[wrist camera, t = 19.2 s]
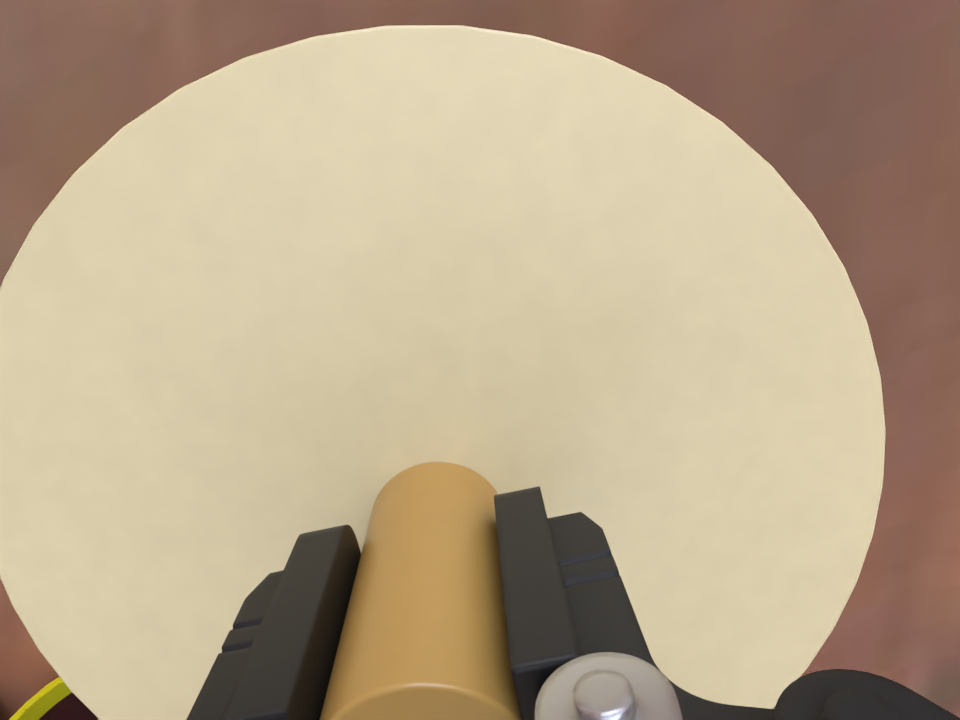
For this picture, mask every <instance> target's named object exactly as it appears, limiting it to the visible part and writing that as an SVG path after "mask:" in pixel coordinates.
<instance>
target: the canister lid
mask: <svg viewBox="0 0 960 720" xmlns="http://www.w3.org/2000/svg"><path fill="white" fill-rule="evenodd" d="M885 435H886V430H885V419H884V408H883V397H882V386H881V377H880V373H879V369H878V364H877V360H876V356H875V352H874V348H873V344H872V340H871V336H870V332H869V328H868V324H867V321H866V318H865V316H864V314H863V311H862V309H861V306H860V304H859V301H858V299H857V297H856V294H855V292H854V289H853V287H852V284H851V282H850V280H849V277H848V275H847V272H846V270H845V268H844V266H843V264H842V263H841V261H840V259H839V258H838V256H837V254H836V253H835V251H834V249H833V248H832V246H831V244H830V243H829V241H828V239H827V238H826V236H825V234H824V233H823V231H822V229H821V228H820V226H819V225H818V223H817V221H816V220H815V218H814V216H813V215H812V214H811V212H810V211H809V210H808V209H807V208H806V206H805V205H804V204H803V203H802V202H801V200H800V199H799V198H798V197H797V195H796V194H795V193H794V192H793V191H792V189H791V188H790V187H789V186H788V185H787V183H786V182H785V181H784V180H783V179H782V177H781V176H780V175H779V174H778V173H777V171H776V170H775V169H774V168H773V167H772V166H771V165H770V164H769V163H768V162H767V161H766V160H765V159H763V158H762V157H761V156H760V155H759V154H758V153H757V152H756V151H754V150H753V149H752V148H751V147H750V146H749V145H748V144H747V143H745V142H744V141H743V140H742V139H741V138H740V137H739V136H737V135H736V134H735V133H734V132H733V131H732V130H731V129H730V128H728V127H727V126H726V125H725V124H724V123H723V122H721V121H720V120H718V119H717V118H715V117H714V116H712V115H711V114H709V113H708V112H706V111H704V110H703V109H701V108H700V107H698V106H697V105H695V104H694V103H692V102H691V101H689V100H688V99H686V98H685V97H683V96H681V95H680V94H678V93H677V92H675V91H674V90H672V89H671V88H669V87H668V86H666V85H664V84H662V83H660V82H658V81H655V80H653V79H651V78H649V77H647V76H645V75H642V74H640V73H638V72H636V71H634V70H631V69H629V68H627V67H625V66H623V65H621V64H618V63H616V62H614V61H612V60H610V59H608V58H605V57H603V56H601V55H597V54H594V53H590V52H587V51H584V50H580V49H577V48H573V47H570V46H567V45H563V44H560V43H556V42H553V41H550V40H546V39H543V38H539V37H536V36H532V35H525V34H518V33H511V32H504V31H497V30H490V29H483V28H476V27H469V26H462V25H396V26H380V27H373V28H367V29H360V30H353V31H347V32H340V33H333V34H327V35H320V36H314V37H310V38H307V39H304V40H301V41H297V42H294V43H291V44H287V45H284V46H281V47H278V48H274V49H271V50H268V51H265V52H261V53H258V54H255V55H251V56H248V57H245V58H243V59H241V60H238V61H236V62H234V63H232V64H230V65H228V66H226V67H224V68H222V69H220V70H217V71H215V72H213V73H211V74H209V75H207V76H205V77H203V78H201V79H199V80H197V81H194V82H192V83H190V84H188V85H186V86H184V87H182V88H180V89H178V90H177V91H175V92H174V93H173V94H171V95H170V96H168V97H167V98H165V99H164V100H162V101H161V102H159V103H158V104H156V105H155V106H153V107H152V108H150V109H149V110H148V111H146V112H145V113H143V114H142V115H140V116H139V117H137V118H136V119H134V120H133V121H131V122H130V123H128V124H127V125H125V126H124V127H123V128H122V129H121V130H119V131H118V132H117V133H116V134H115V135H114V136H113V137H112V138H111V139H110V140H109V141H108V142H107V143H106V144H104V145H103V146H102V147H101V148H100V149H99V150H98V151H97V152H96V153H95V154H94V155H93V156H92V157H91V158H90V159H88V160H87V161H86V162H85V163H84V164H83V165H82V166H81V167H80V168H79V169H78V170H77V171H76V172H75V173H74V174H73V175H72V176H71V178H70V179H69V180H68V181H67V183H66V184H65V185H64V186H63V188H62V189H61V190H60V192H59V193H58V194H57V195H56V197H55V198H54V199H53V201H52V202H51V203H50V204H49V206H48V207H47V208H46V210H45V211H44V212H43V213H42V215H41V216H40V217H39V219H38V220H37V221H36V222H35V224H34V225H33V227H32V229H31V231H30V232H29V234H28V236H27V238H26V240H25V242H24V243H23V245H22V247H21V249H20V251H19V252H18V254H17V256H16V258H15V260H14V262H13V263H12V265H11V267H10V269H9V271H8V272H7V274H6V276H5V278H4V280H3V283H2V285H1V288H0V578H1V580H2V583H3V585H4V587H5V590H6V592H7V594H8V597H9V599H10V601H11V604H12V606H13V607H14V609H15V611H16V612H17V614H18V616H19V618H20V619H21V621H22V623H23V624H24V626H25V628H26V629H27V631H28V633H29V634H30V636H31V638H32V639H33V641H34V643H35V644H36V646H37V648H38V649H39V651H40V652H41V653H42V655H43V656H44V657H45V658H46V660H47V661H48V662H49V664H50V665H51V666H52V667H53V669H54V670H55V671H56V673H57V674H58V675H59V676H60V678H61V679H62V680H63V681H64V683H65V684H66V685H67V687H68V688H69V689H70V690H71V691H72V692H73V693H74V694H75V695H76V696H77V697H78V698H79V699H80V700H81V701H82V702H83V703H84V704H85V705H86V706H87V707H88V708H89V709H90V710H91V711H92V712H93V713H94V714H95V715H96V716H97V717H98V718H99V719H100V720H186V719H187V717H188V715H189V713H190V711H191V709H192V707H193V705H194V703H195V701H196V699H197V697H198V695H199V693H200V691H201V689H202V687H203V684H204V682H205V680H206V678H207V676H208V674H209V672H210V670H211V668H212V666H213V664H214V662H215V660H216V658H217V656H218V654H219V653H222V648H221V647H222V645H223V643H224V641H225V639H226V637H227V635H228V633H229V631H230V630H233V623H234V621H235V619H236V617H237V615H238V613H239V610H240V608H241V606H242V604H243V602H244V600H245V598H246V597H247V596H248V595H249V594H250V593H251V592H252V591H253V590H254V589H255V588H256V587H257V586H258V585H259V584H260V583H261V582H262V581H263V580H264V579H265V578H266V576H267V575H268V574H269V573H273V572H278V571H283V570H284V568H285V566H286V563H287V561H288V559H289V556H290V554H291V552H292V549H293V547H294V545H295V542H296V540H297V538H298V536H299V535H300V534H302V533H307V532H312V531H317V530H322V529H327V528H332V527H337V526H342V525H350V526H351V528H352V529H353V531H354V533H355V535H356V538H357V541H358V545H359V548H360V551H361V557H360V560H359V564H358V568H357V572H356V576H355V580H354V584H353V588H352V592H351V596H350V600H349V604H348V608H347V612H346V616H345V620H344V624H343V628H342V632H341V636H340V640H339V644H338V648H337V652H336V656H335V660H334V664H333V668H332V672H331V676H330V680H329V684H328V688H327V692H326V696H325V700H324V704H323V708H322V712H321V716H320V720H522V716H521V711H520V707H519V703H518V699H517V695H516V691H515V686H514V682H513V678H512V674H511V670H510V660H509V649H508V639H507V629H506V618H505V608H504V598H503V588H502V577H501V567H500V557H499V546H498V536H497V526H496V515H495V505H494V495H498V494H503V493H508V492H513V491H518V490H523V489H528V488H533V487H538V486H540V489H541V493H542V497H543V502H544V506H545V510H546V514H547V518H552V517H557V516H562V515H567V514H572V513H577V512H582V513H583V514H585V515H586V516H587V517H589V518H590V519H591V520H592V521H594V522H595V523H596V524H597V525H599V526H600V527H601V528H602V529H603V531H604V534H605V537H606V539H607V542H608V544H609V547H610V550H611V553H612V556H613V558H614V560H615V563H616V565H617V568H618V571H619V575H620V576H621V579H622V581H623V584H624V586H625V589H626V592H627V594H628V597H629V600H630V602H631V605H632V607H633V610H634V613H635V615H636V618H637V620H638V623H639V626H640V628H641V631H642V634H643V636H644V639H645V641H646V644H647V647H648V649H649V652H650V655H651V657H652V659H653V661H654V663H655V664H656V666H657V667H658V668H659V670H660V671H661V672H662V673H663V674H664V675H665V676H666V677H667V678H668V679H669V680H670V681H671V682H673V683H674V684H675V685H677V686H678V687H680V688H681V689H683V690H685V691H687V692H689V693H690V694H693V695H695V696H697V697H700V698H702V699H705V700H709V701H713V702H716V703H721V704H728V705H736V706H746V707H756V708H767V709H772V708H773V707H774V706H775V705H776V704H777V701H778V698H779V697H780V695H781V694H782V692H783V690H784V689H786V688H787V687H788V686H789V685H790V684H791V683H792V682H794V681H795V680H797V679H798V678H799V677H800V676H801V675H802V674H803V673H804V671H805V670H806V669H807V668H808V666H809V665H810V663H811V662H812V660H813V659H814V657H815V656H816V654H817V653H818V651H819V650H820V648H821V647H822V645H823V644H824V642H825V641H826V639H827V638H828V636H829V635H830V633H831V632H832V630H833V629H834V627H835V625H836V623H837V621H838V619H839V617H840V615H841V613H842V611H843V609H844V607H845V605H846V603H847V601H848V599H849V597H850V595H851V593H852V591H853V589H854V587H855V585H856V583H857V580H858V577H859V574H860V571H861V568H862V565H863V562H864V559H865V557H866V554H867V551H868V548H869V545H870V542H871V539H872V536H873V532H874V527H875V522H876V517H877V512H878V507H879V501H880V496H881V491H882V486H883V472H884V454H885Z"/></svg>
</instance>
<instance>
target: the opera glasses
mask: <svg viewBox="0 0 960 720" xmlns="http://www.w3.org/2000/svg"><path fill="white" fill-rule="evenodd" d="M39 718H40V719H39ZM38 719H39V720H100V719H99V718H98V717H97V716H96V715H95V714H94V713H93V712H92V711H91V710H90V709H89V708H88V707H87V706H86V705H85V704H84V703H83V702H82V701H81V700H80V699H79V698H78V697H77V696H76V695H75V694H74V693H73V692H72V691H71V690H70V689H69V688H68V687H67V685H66V684H65V683H64V681H63V680H62V679H61V678H60V677H58V678H56V679H55V680H53V681H52V682H50V683H49V684H47V685H46V686H45V687H44V688H43V689H41V690H40V691H39V692H38V693H37V694H35V695H34V696H33V697H32V698H31V699H29V700H28V701H27V702H26V703H25V704H24V705H23V706H22V707H21V708H20V709H19V710H18V711H17V712H16V713H15V714H14V715H13V716H12V717H11V718H10V719H9V720H38Z"/></svg>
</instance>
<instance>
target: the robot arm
mask: <svg viewBox="0 0 960 720" xmlns="http://www.w3.org/2000/svg"><path fill="white" fill-rule="evenodd" d="M494 505H495V515H496V526H497V536H498V546H499V557H500V567H501V577H502V588H503V598H504V608H505V618H506V629H507V639H508V649H509V660H510V670H511V674H512V678H513V682H514V686H515V691H516V695H517V699H518V703H519V707H520V711H521V716H522V720H960V718H959V717H957V716H955V715H953V714H952V713H950V712H948V711H947V710H945V709H943V708H941V707H940V706H938V705H936V704H935V703H933V702H931V701H929V700H928V699H926V698H924V697H923V696H921V695H919V694H917V693H916V692H914V691H912V690H911V689H909V688H907V687H905V686H903V685H901V684H899V683H897V682H894V681H892V680H889V679H887V678H884V677H882V676H878V675H874V674H871V673H867V672H862V671H855V670H844V669H833V670H822V671H818V672H813V673H810V674H807V675H805V676H802V677H800V678H798V679H797V680H795V681H794V682H792V683H791V684H790V685H789V686H788V687H787V688H786V689H784V690H783V692H782V694H781V695H780V697H779V698H778V701H777V704H776V707H775V709H767V708H756V707H746V706H736V705H728V704H721V703H716V702H713V701H709V700H705V699H702V698H700V697H697V696H695V695H693V694H690V693H689V692H687V691H685V690H683V689H681V688H680V687H678V686H677V685H675V684H674V683H673V682H671V681H670V680H669V679H668V678H667V677H666V676H665V675H664V674H663V673H662V672H661V671H660V670H659V668H658V667H657V666H656V664H655V663H654V661H653V659H652V657H651V655H650V652H649V649H648V647H647V644H646V641H645V639H644V636H643V634H642V631H641V628H640V626H639V623H638V620H637V618H636V615H635V613H634V610H633V607H632V605H631V602H630V600H629V597H628V594H627V592H626V589H625V586H624V584H623V581H622V579H621V576H620V575H619V571H618V568H617V565H616V563H615V560H614V558H613V556H612V553H611V550H610V547H609V544H608V542H607V539H606V537H605V534H604V531H603V529H602V528H601V527H600V526H599V525H597V524H596V523H595V522H594V521H592V520H591V519H590V518H589V517H587V516H586V515H585V514H583V513H582V512H577V513H572V514H567V515H562V516H557V517H552V518H547V514H546V510H545V506H544V502H543V497H542V493H541V489H540V486H538V487H533V488H528V489H523V490H518V491H513V492H508V493H503V494H498V495H494ZM360 557H361V551H360V548H359V545H358V541H357V538H356V535H355V533H354V531H353V529H352V528H351V526H350V525H342V526H337V527H332V528H327V529H322V530H317V531H312V532H307V533H302V534H300V535H299V536H298V538H297V540H296V542H295V545H294V547H293V549H292V552H291V554H290V556H289V559H288V561H287V563H286V566H285V568H284V570H283V571H278V572H273V573H269V574H268V575H267V576H266V578H265V579H264V580H263V581H262V582H261V583H260V584H259V585H258V586H257V587H256V588H255V589H254V590H253V591H252V592H251V593H250V594H249V595H248V596H247V597H246V598H245V600H244V602H243V604H242V606H241V608H240V610H239V613H238V615H237V617H236V619H235V621H234V623H233V630H230V631H229V633H228V635H227V637H226V639H225V641H224V643H223V645H222V647H221V648H222V653H219V654H218V656H217V658H216V660H215V662H214V664H213V666H212V668H211V670H210V672H209V674H208V676H207V678H206V680H205V682H204V684H203V687H202V689H201V691H200V693H199V695H198V697H197V699H196V701H195V703H194V705H193V707H192V709H191V711H190V713H189V715H188V717H187V719H186V720H320V716H321V712H322V708H323V704H324V700H325V696H326V692H327V688H328V684H329V680H330V676H331V672H332V668H333V664H334V660H335V656H336V652H337V648H338V644H339V640H340V636H341V632H342V628H343V624H344V620H345V616H346V612H347V608H348V604H349V600H350V596H351V592H352V588H353V584H354V580H355V576H356V572H357V568H358V564H359V560H360Z"/></svg>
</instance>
